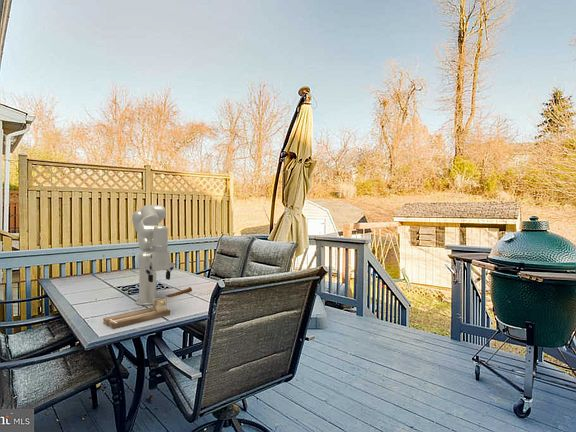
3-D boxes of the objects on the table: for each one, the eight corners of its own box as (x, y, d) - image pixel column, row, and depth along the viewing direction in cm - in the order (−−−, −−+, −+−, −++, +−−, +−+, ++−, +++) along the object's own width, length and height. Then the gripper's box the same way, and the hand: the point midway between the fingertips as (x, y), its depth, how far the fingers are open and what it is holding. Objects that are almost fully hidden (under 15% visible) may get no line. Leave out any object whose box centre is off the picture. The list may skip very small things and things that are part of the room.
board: (103, 323, 156) (103, 318, 156) (158, 310, 178) (158, 305, 178) (113, 329, 148) (113, 323, 148) (170, 314, 171) (170, 310, 171)
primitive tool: (169, 298, 205) (170, 292, 205) (164, 296, 208) (164, 291, 208) (192, 292, 222) (192, 287, 222) (187, 291, 224) (187, 286, 225)
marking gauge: (151, 309, 171) (151, 298, 171) (160, 307, 175) (160, 296, 175) (158, 312, 166) (159, 301, 166) (167, 310, 170) (167, 299, 170)
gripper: (147, 250, 161) (147, 284, 161) (178, 248, 174) (177, 279, 174) (140, 249, 165) (140, 282, 165) (171, 247, 179) (170, 277, 179)
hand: (159, 280), depth 170 cm, fingers open, 9 cm apart
